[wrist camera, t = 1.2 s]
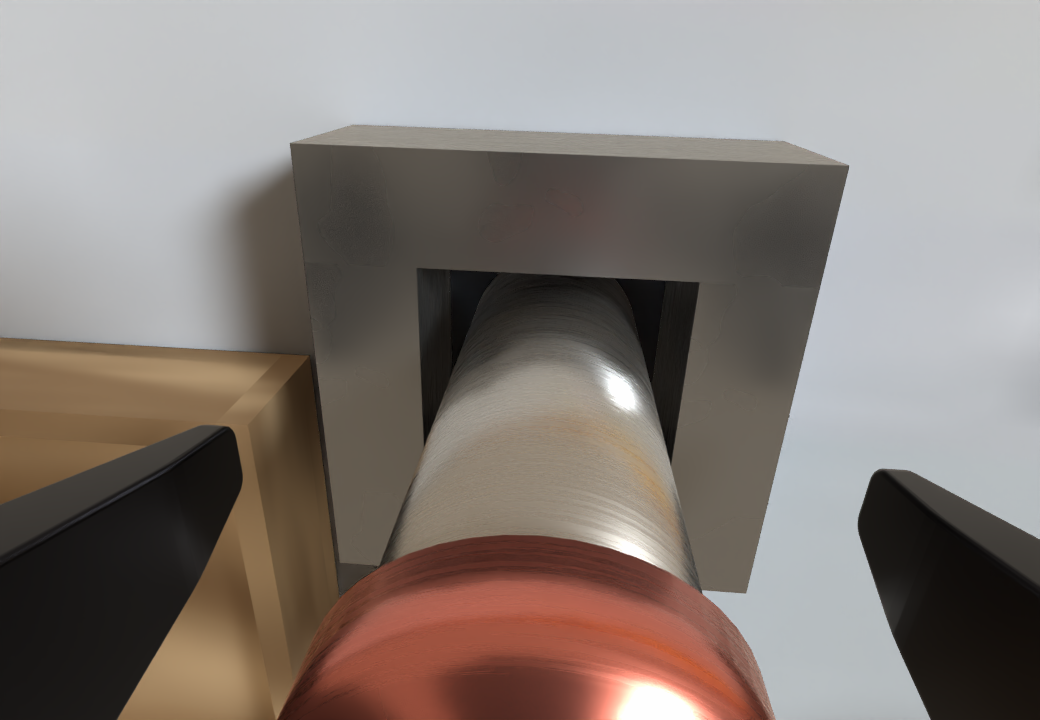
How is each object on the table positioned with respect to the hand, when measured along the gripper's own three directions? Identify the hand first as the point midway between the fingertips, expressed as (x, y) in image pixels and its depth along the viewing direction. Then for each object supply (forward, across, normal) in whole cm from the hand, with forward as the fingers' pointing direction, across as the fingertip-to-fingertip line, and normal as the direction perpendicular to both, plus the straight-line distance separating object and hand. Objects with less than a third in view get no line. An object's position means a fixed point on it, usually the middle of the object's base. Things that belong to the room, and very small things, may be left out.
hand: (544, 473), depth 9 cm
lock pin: (+5, 0, 0) cm, 5 cm away
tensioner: (+5, 0, +3) cm, 6 cm away
